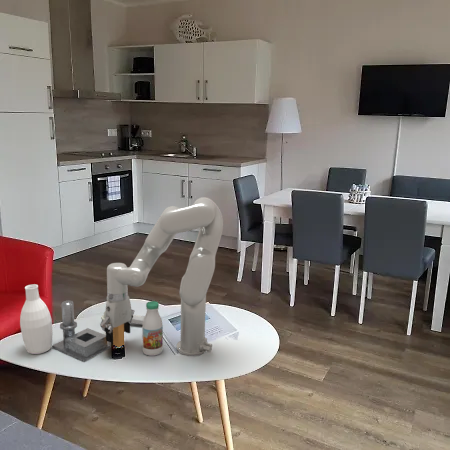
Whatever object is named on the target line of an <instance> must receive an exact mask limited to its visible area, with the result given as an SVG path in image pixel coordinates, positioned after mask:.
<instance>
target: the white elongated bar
mask: <svg viewBox="0 0 450 450" xmlns="http://www.w3.org/2000/svg"><path fill="white" fill-rule="evenodd" d="M144 317H145V315H137V314H134V315H133V318H132V320H131V321H132V322H131V323H130V324H137V325H143V320H144ZM100 319H101V323H102V322H103V321H104V320H105V311H104V312H103V315H101V316H100Z"/></svg>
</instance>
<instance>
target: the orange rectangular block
mask: <svg viewBox="0 0 450 450" xmlns="http://www.w3.org/2000/svg"><path fill="white" fill-rule="evenodd" d="M112 333H113V342H112V346H113V345H115V346H117V347H120V346H122V345H124V346H125V332H124V324H122V325H120V326H118V327H115V328H113V330H112Z"/></svg>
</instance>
